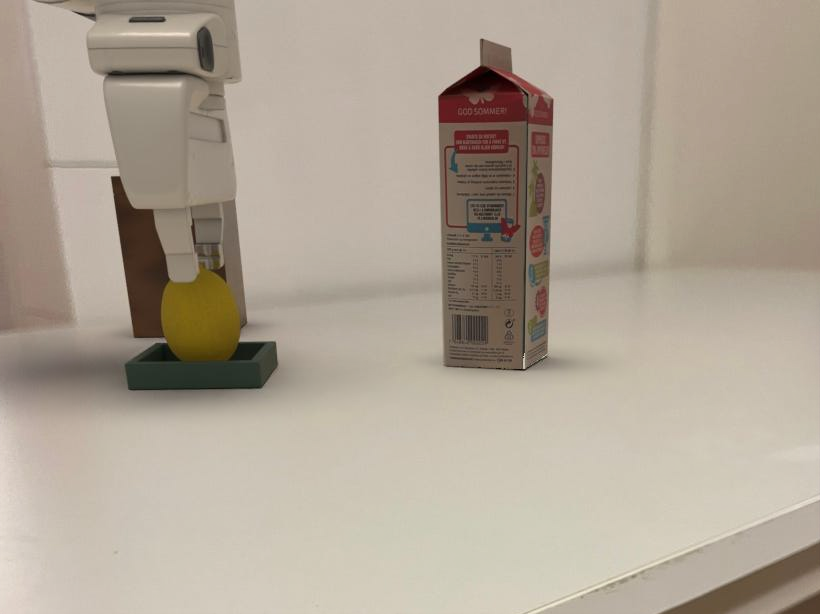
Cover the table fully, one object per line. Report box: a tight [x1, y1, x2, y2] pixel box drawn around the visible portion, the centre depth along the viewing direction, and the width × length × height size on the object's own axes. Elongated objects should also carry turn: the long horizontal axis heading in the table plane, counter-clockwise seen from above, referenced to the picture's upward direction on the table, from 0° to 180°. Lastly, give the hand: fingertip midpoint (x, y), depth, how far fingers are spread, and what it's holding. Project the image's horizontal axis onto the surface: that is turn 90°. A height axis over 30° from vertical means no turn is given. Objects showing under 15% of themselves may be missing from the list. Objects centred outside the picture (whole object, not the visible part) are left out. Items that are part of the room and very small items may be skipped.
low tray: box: [124, 340, 279, 390], centre depth 75 cm, size 9×9×2 cm
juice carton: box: [437, 37, 555, 370], centre depth 76 cm, size 7×7×22 cm
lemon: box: [161, 263, 241, 361], centre depth 74 cm, size 6×6×8 cm
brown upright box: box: [110, 175, 248, 338], centre depth 94 cm, size 9×9×14 cm
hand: (199, 274), depth 72 cm, fingers open, 8 cm apart
